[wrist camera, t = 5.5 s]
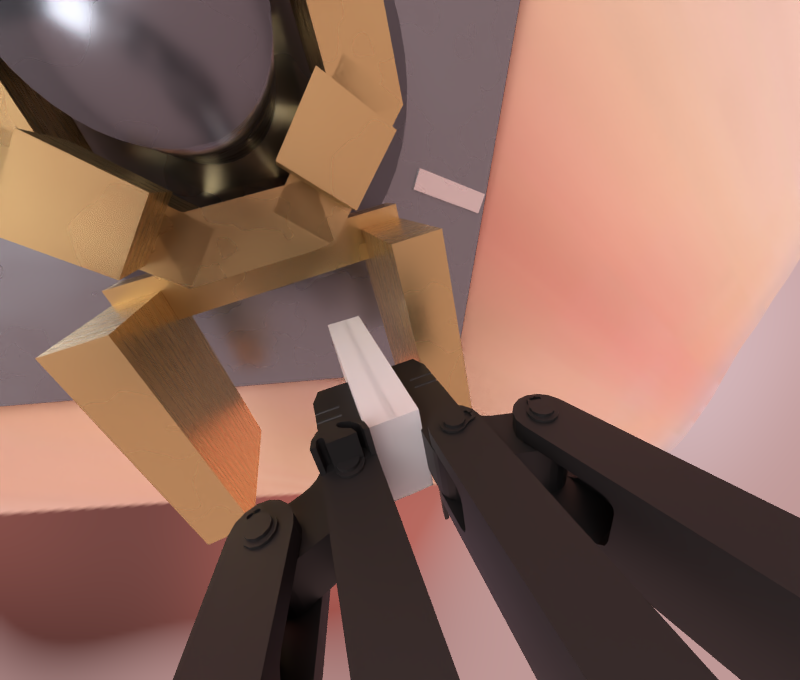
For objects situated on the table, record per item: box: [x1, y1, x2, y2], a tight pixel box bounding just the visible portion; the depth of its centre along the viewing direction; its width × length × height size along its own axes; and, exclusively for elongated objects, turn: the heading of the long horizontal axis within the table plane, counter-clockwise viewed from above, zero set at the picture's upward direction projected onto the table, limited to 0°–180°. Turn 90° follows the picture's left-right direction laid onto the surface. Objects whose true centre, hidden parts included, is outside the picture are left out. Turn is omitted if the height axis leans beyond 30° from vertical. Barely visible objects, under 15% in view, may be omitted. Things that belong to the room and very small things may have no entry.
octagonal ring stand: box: [0, 0, 472, 545], centre depth 9 cm, size 18×11×5 cm, turn 14°
